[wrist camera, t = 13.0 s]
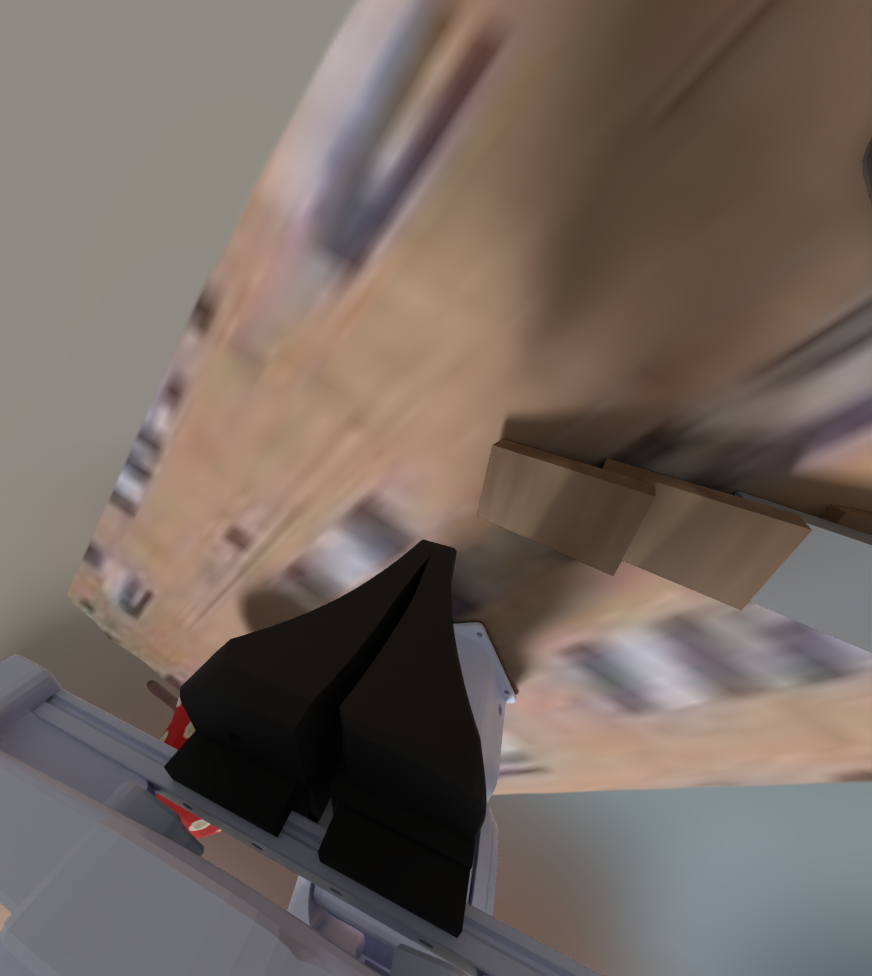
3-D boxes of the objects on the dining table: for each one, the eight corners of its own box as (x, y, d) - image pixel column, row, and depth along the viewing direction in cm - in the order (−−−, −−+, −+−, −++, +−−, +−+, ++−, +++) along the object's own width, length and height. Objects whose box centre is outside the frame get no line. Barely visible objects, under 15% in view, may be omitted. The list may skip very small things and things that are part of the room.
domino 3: (737, 490, 16) (954, 563, 13) (682, 558, 18) (856, 630, 16) (748, 503, 15) (991, 586, 12) (687, 574, 17) (878, 655, 14)
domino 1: (503, 438, 18) (655, 484, 15) (487, 506, 21) (616, 560, 17) (492, 444, 17) (655, 496, 14) (476, 516, 19) (613, 576, 16)
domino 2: (607, 457, 17) (797, 514, 14) (577, 527, 19) (734, 590, 16) (603, 466, 16) (811, 530, 13) (572, 539, 18) (741, 610, 15)
